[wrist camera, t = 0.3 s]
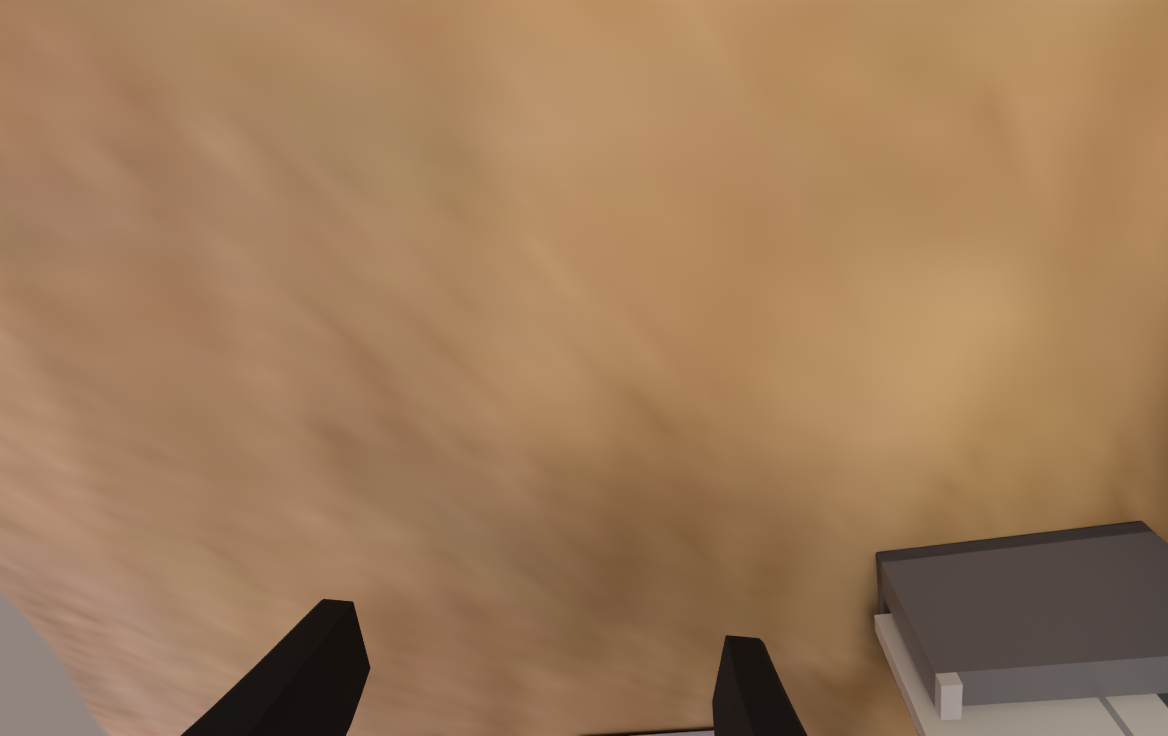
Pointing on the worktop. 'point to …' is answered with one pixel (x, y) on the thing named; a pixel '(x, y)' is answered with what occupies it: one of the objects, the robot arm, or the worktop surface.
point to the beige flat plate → (1020, 706)
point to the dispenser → (1033, 616)
